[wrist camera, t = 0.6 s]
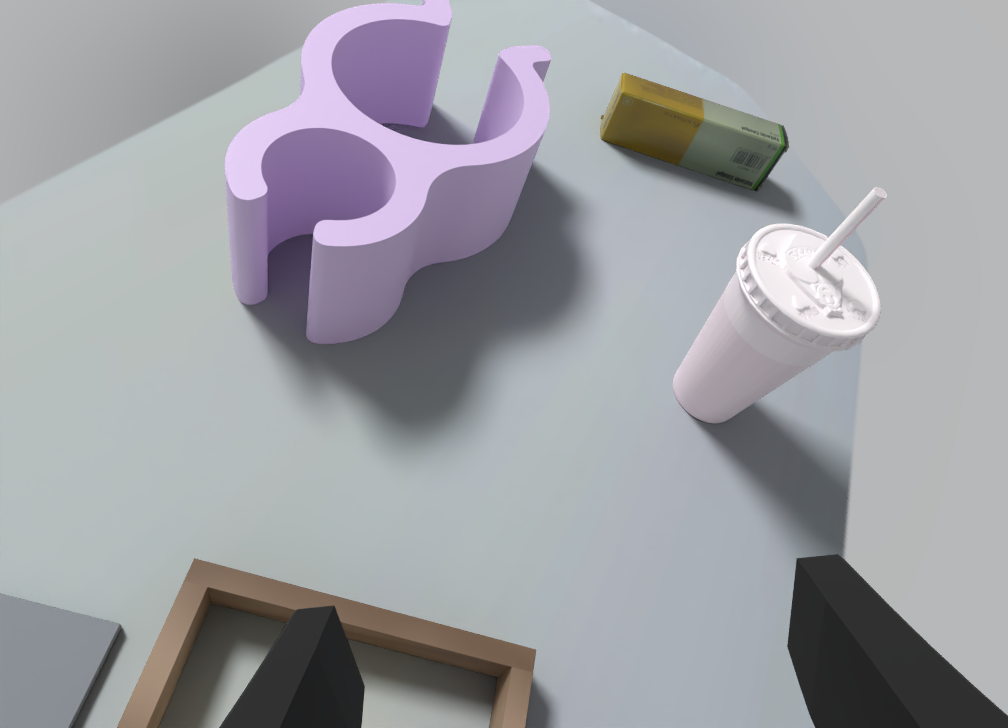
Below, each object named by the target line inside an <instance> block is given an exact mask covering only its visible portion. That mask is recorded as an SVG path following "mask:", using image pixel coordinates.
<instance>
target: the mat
mask: <svg viewBox="0 0 1008 728" xmlns="http://www.w3.org/2000/svg"><path fill="white" fill-rule="evenodd" d="M121 627H122V626H121V625H120V624H118V623H114V622H110V621H107V620H103V619H99V618H95V617H91V616H87V615H83V614H79V613H75V612H71V611H67V610H63V609H59V608H55V607H51V606H47V605H43V604H39V603H36V602H32V601H28V600H24V599H20V598H16V597H12V596H8V595H4V594H0V728H72V727H73V725H74V723H75V721H76V719H77V717H78V715H79V713H80V710H81V708H82V706H83V704H84V702H85V700H86V698H87V696H88V694H89V692H90V690H91V688H92V686H93V684H94V682H95V680H96V678H97V676H98V674H99V672H100V670H101V668H102V666H103V664H104V662H105V660H106V658H107V656H108V654H109V652H110V650H111V648H112V646H113V644H114V642H115V639H116V637H117V635H118V633H119V631H120V629H121Z"/></svg>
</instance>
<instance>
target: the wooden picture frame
mask: <svg viewBox="0 0 1008 728" xmlns="http://www.w3.org/2000/svg"><path fill="white" fill-rule="evenodd" d="M211 603H214V604H217V605H221V606H225V607H229V608H233V609H237V610H240V611H244V612H248V613H252V614H256V615H260V616H263V617H267V618H271V619H275V620H279V621H283V622H286V623H287V622H288V621H289V619H290V618H291V616H292V614H293V613H294V612H295V611H296V610H297V609H304V608H314V607H324V606H333V605H334V606H335V608H336V611H337V614H338V616H339V619H340V622H341V624H342V627H343V630H344V632H345V635H346V638H348V639H352V640H355V641H359V642H363V643H367V644H371V645H375V646H378V647H382V648H386V649H390V650H394V651H398V652H402V653H405V654H409V655H413V656H417V657H421V658H425V659H428V660H432V661H436V662H440V663H444V664H448V665H451V666H455V667H459V668H463V669H467V670H471V671H474V672H478V673H482V674H486V675H490V676H494V677H497V678H498V679H497V685H496V690H495V696H494V702H493V708H492V714H491V719H490V725H489V728H525V724H526V718H527V711H528V704H529V697H530V690H531V683H532V676H533V669H534V662H535V655H536V650H535V649H532V648H528V647H524V646H520V645H517V644H513V643H509V642H505V641H502V640H498V639H494V638H490V637H487V636H483V635H479V634H475V633H472V632H468V631H464V630H460V629H457V628H453V627H449V626H445V625H442V624H438V623H434V622H431V621H427V620H423V619H419V618H416V617H412V616H408V615H404V614H401V613H397V612H393V611H389V610H386V609H382V608H378V607H374V606H371V605H367V604H363V603H359V602H356V601H352V600H348V599H344V598H341V597H337V596H333V595H329V594H326V593H322V592H318V591H314V590H311V589H307V588H303V587H299V586H296V585H292V584H288V583H284V582H281V581H277V580H273V579H269V578H266V577H262V576H258V575H254V574H251V573H247V572H243V571H239V570H236V569H232V568H228V567H225V566H221V565H217V564H213V563H210V562H206V561H202V560H198V559H195V558H194V560H193V563H192V565H191V567H190V569H189V571H188V574H187V576H186V578H185V580H184V582H183V584H182V587H181V589H180V591H179V593H178V595H177V598H176V600H175V602H174V604H173V606H172V608H171V611H170V613H169V615H168V617H167V619H166V622H165V624H164V626H163V628H162V630H161V632H160V635H159V637H158V639H157V641H156V643H155V646H154V648H153V650H152V652H151V654H150V656H149V659H148V661H147V663H146V665H145V667H144V670H143V672H142V674H141V676H140V678H139V680H138V683H137V685H136V687H135V689H134V691H133V694H132V696H131V698H130V700H129V702H128V704H127V707H126V709H125V711H124V713H123V715H122V718H121V720H120V722H119V724H118V726H117V728H158V727H159V724H160V722H161V720H162V717H163V715H164V713H165V710H166V708H167V706H168V703H169V701H170V699H171V696H172V694H173V692H174V689H175V687H176V685H177V682H178V680H179V677H180V675H181V673H182V670H183V668H184V666H185V663H186V661H187V659H188V656H189V654H190V652H191V649H192V647H193V645H194V642H195V640H196V638H197V635H198V633H199V631H200V628H201V626H202V624H203V621H204V619H205V617H206V614H207V612H208V610H209V607H210V605H211Z"/></svg>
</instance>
